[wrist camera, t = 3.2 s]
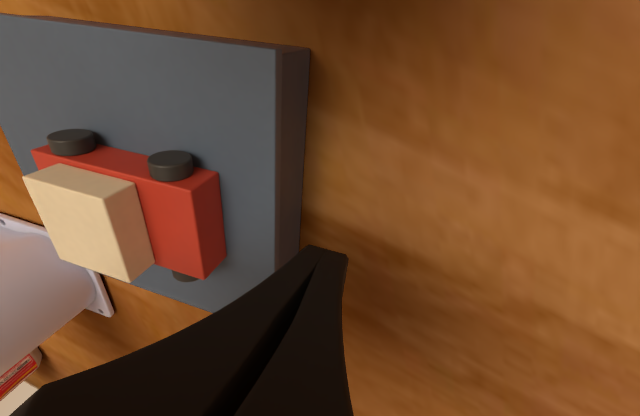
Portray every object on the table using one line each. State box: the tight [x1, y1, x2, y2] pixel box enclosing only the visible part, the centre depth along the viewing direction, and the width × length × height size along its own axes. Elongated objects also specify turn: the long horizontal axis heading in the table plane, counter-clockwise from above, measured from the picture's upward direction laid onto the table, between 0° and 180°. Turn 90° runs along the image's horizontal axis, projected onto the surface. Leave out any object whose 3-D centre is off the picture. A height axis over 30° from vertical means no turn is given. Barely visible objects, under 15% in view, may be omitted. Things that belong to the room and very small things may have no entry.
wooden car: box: [22, 129, 227, 283], centre depth 12 cm, size 7×5×3 cm
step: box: [0, 13, 310, 313], centre depth 15 cm, size 13×12×4 cm
